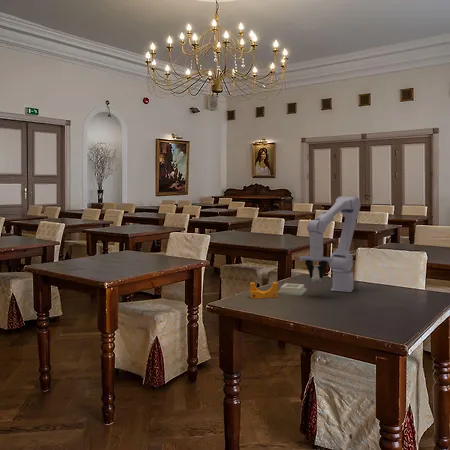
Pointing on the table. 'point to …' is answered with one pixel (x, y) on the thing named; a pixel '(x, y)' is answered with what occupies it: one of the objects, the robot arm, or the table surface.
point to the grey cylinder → (316, 273)
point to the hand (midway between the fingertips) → (316, 277)
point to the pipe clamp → (263, 293)
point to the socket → (292, 289)
